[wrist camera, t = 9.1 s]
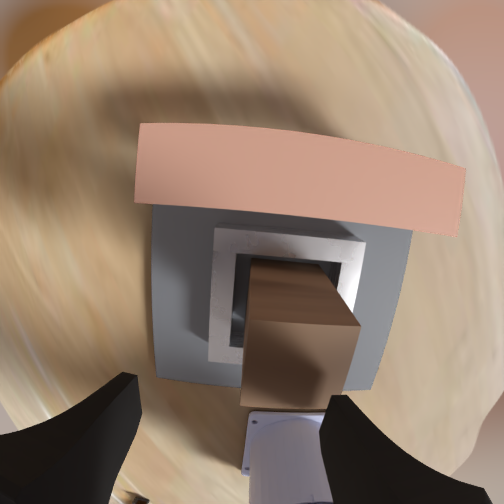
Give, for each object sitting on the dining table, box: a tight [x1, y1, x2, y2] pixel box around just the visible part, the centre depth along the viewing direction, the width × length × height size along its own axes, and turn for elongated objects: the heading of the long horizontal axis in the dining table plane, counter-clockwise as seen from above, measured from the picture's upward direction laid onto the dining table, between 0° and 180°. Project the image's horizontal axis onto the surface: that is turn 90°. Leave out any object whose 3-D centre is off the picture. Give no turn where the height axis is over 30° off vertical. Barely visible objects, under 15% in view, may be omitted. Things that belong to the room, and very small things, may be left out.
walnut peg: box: [240, 258, 361, 409], centre depth 15 cm, size 4×4×8 cm
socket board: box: [134, 123, 466, 391], centre depth 16 cm, size 16×16×8 cm
